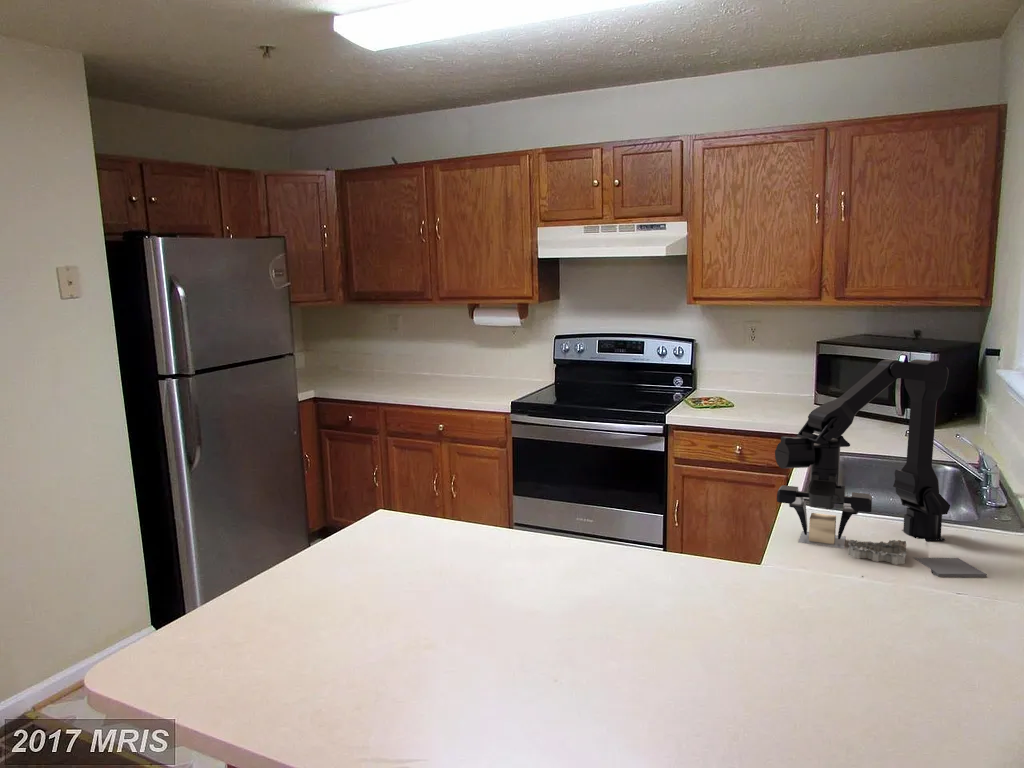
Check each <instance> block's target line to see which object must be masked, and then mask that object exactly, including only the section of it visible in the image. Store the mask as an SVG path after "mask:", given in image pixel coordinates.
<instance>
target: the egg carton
mask: <svg viewBox="0 0 1024 768" xmlns="http://www.w3.org/2000/svg"><path fill="white" fill-rule="evenodd" d="M906 541H907V540H900V539H899V540H896V539H892V540H889V541H888V542H884V541H880V542H872V541H857V540H855V539H850V540H849V541H848V543H847V546H848V548H847V555H848V556H849V557H852V558H853V559H858V560H860V559H869V560H871V561H873V562H882V561H883V562H888V563H891V565H897V566H898V565H905V562H906V556H908V552H907V542H906Z"/></svg>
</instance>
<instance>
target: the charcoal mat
mask: <svg viewBox="0 0 1024 768" xmlns="http://www.w3.org/2000/svg"><path fill="white" fill-rule="evenodd" d="M913 559H915V560H916V561H917V562H919V563H920V564H922V565H924V566H925V567H927V568H928V569H930V570H931V573H932V574H934V575H935V576H936V577H939V578H987V576H988V575H987V573H986V572H984V571H982V570H980V569H979V568H977V567H975V566H973V565H972V564H970V563H968V562H966V561H965V560H963V559H961V558H959V557H913Z"/></svg>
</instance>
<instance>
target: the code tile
mask: <svg viewBox="0 0 1024 768" xmlns="http://www.w3.org/2000/svg"><path fill="white" fill-rule="evenodd" d="M846 537H847V536H844V535H842V536H841V538H840V539H838V535H837V534H835V542H834V544H829V543H821V542H814V541H809V531H807V535H805V534H804V531H803V530H802V531H801V533H800V536H799V538H798V541H797V543H801V544H808V545H816V546H822V547H823V546H824V547H830V548H836V549H837V548H838V549H845V543H846Z"/></svg>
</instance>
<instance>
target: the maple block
mask: <svg viewBox="0 0 1024 768" xmlns="http://www.w3.org/2000/svg"><path fill="white" fill-rule="evenodd" d="M836 526H837V515H834V514H833V515H832V514H827V513H817V512H811V514H810V517H809V527H808V528H809V529H808V532H809V541H814V542H821V543H829V544H834V542H835V535H836V529H837V527H836Z"/></svg>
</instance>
